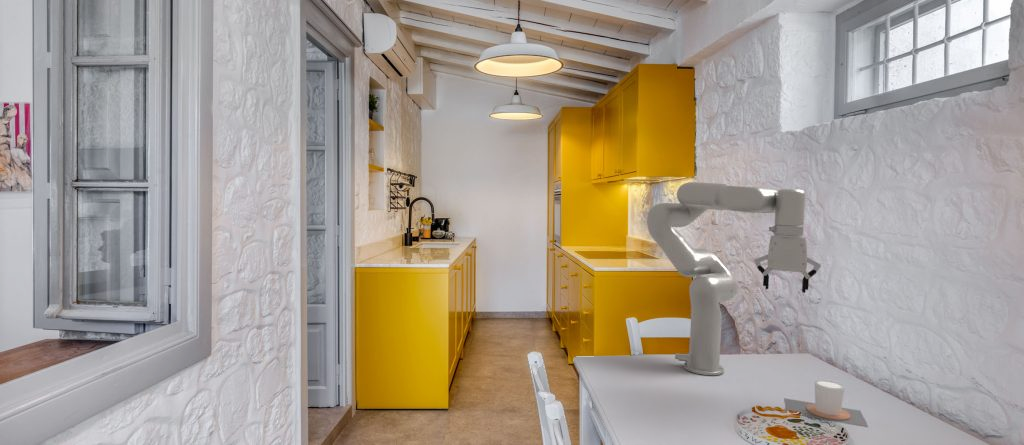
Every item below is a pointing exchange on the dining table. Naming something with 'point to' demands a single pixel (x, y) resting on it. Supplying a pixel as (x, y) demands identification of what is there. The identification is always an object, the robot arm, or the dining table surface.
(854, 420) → the board
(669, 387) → the dining table surface
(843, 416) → the coaster
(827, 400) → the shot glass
